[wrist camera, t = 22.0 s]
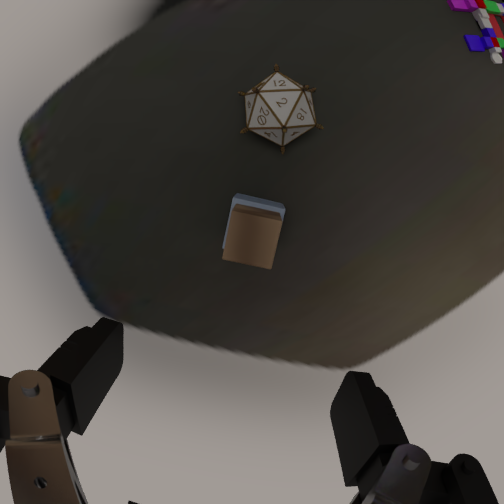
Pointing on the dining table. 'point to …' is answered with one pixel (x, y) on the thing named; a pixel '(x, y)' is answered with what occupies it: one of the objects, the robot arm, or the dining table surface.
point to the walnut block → (252, 236)
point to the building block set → (484, 26)
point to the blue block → (255, 203)
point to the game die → (279, 109)
